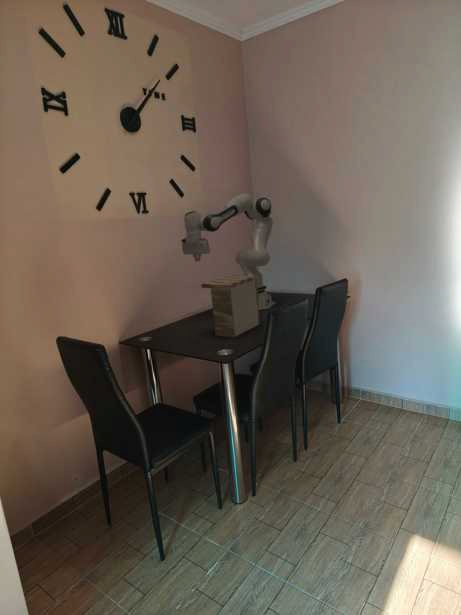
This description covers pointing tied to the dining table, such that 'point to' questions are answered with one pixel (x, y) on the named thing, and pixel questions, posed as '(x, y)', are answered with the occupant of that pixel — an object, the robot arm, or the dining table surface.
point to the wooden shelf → (234, 304)
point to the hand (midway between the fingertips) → (197, 261)
